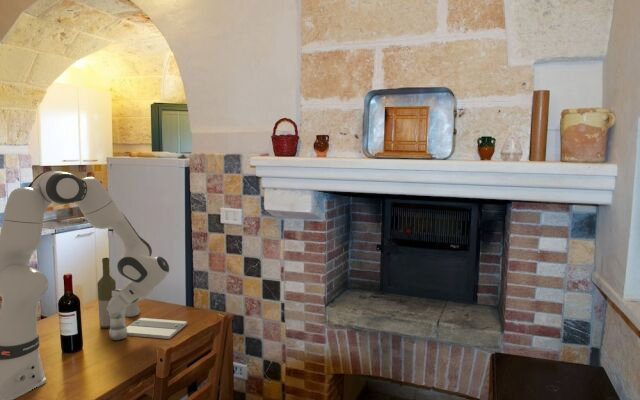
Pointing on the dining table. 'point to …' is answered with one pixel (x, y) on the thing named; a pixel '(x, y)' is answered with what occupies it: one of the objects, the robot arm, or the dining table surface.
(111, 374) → the dining table surface
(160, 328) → the white book
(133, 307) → the flask
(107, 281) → the bottle
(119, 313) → the plastic bottle
